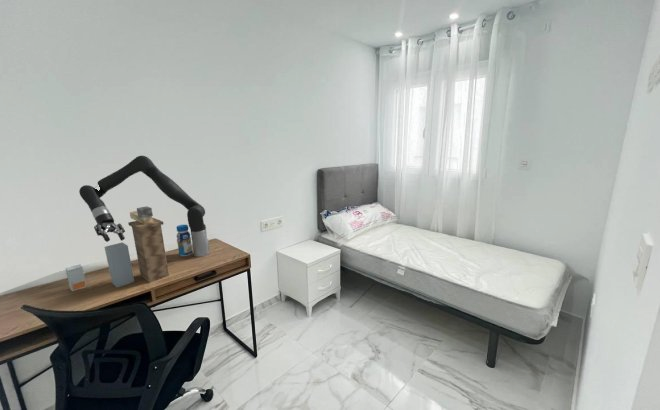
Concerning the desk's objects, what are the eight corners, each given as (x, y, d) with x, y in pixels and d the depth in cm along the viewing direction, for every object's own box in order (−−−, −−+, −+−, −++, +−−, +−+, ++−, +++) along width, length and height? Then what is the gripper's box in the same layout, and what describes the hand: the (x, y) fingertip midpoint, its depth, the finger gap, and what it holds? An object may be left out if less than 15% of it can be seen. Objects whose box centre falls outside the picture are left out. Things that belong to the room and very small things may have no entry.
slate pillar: (129, 277, 159) (122, 242, 155) (134, 281, 155) (127, 245, 150) (112, 283, 153) (104, 246, 148) (117, 287, 149) (109, 250, 144)
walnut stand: (160, 268, 170) (152, 217, 162) (171, 275, 161) (163, 221, 154) (138, 276, 160) (128, 222, 153) (148, 284, 152) (138, 227, 144)
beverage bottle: (180, 252, 193) (176, 224, 189) (193, 251, 196) (190, 223, 191) (177, 257, 185) (173, 228, 181) (192, 255, 188) (188, 227, 183)
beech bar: (139, 216, 165) (137, 202, 163) (153, 222, 153) (151, 207, 151) (129, 218, 161) (127, 204, 159) (143, 224, 149) (140, 209, 147)
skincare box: (72, 291, 145) (66, 270, 142) (70, 289, 147) (64, 268, 145) (87, 287, 150) (82, 266, 147) (84, 284, 152) (80, 264, 149)
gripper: (94, 212, 151) (107, 237, 149) (119, 212, 165) (132, 235, 163) (85, 220, 152) (98, 245, 150) (110, 220, 166) (123, 243, 164)
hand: (115, 240), depth 156 cm, fingers open, 8 cm apart
